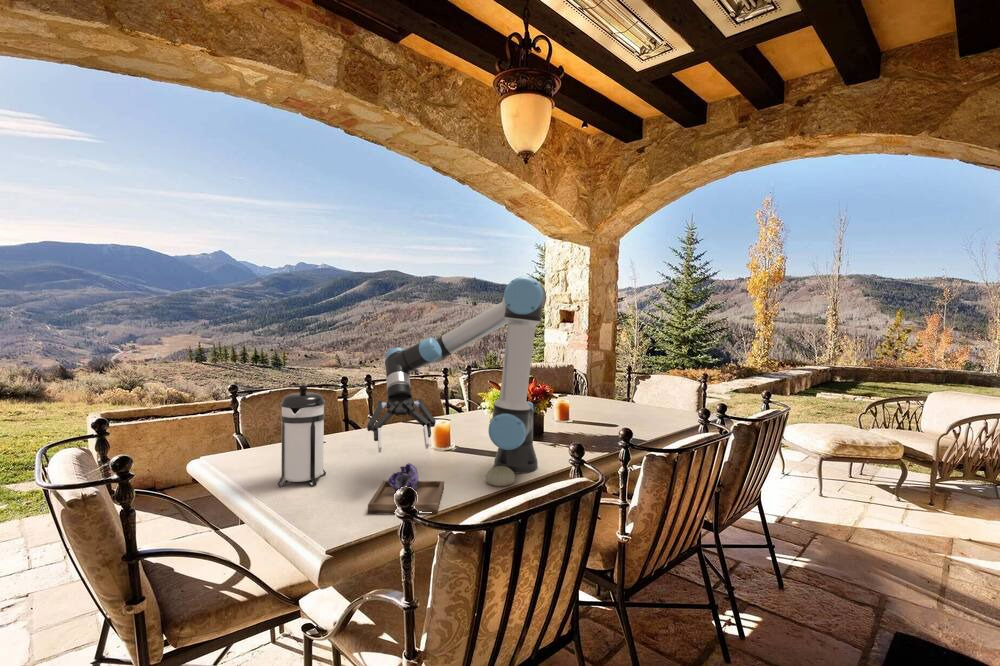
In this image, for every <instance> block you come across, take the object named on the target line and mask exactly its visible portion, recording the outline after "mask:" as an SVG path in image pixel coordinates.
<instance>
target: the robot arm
mask: <svg viewBox="0 0 1000 666" xmlns="http://www.w3.org/2000/svg"><path fill="white" fill-rule="evenodd" d="M503 294H504V295H503V299H502V301H501V302H499V303H497V304H496V305H494V306H492V307H491V308H489V309H487V310H486V311H484V312H482V313H480V314H478V315H476V316H473V318H471V319H469V320H468V321H466V322H463V323H462V324H460V325H459V326H457V327H455V328H454V329H451V330H449V331H448V332H446V333H445V334H442V335H441V336H439V337H437V338H434V337H428V338H426V339H423V340H421V341H420V342H418V343H415V344H414V345H411V346H410V347H408V348H407V349H405V348H402V347H399V346H398V347H397V346H396V347H392V348H389V349H388V350H387V351H386V353H385V359H384V366H385V376H386V377H385V380H386V393H387V401H386V402H385V401H384V402H382V400H381V399H380V400H378V401H377V406H376V409H375V410H374V412H373V413H372V415H371V418H370V419H369V421H368V423H367V424H366V425H367V426H366V429H367V431H368V432H373V440H374V442H377V447H378V448H377V450H378V453H382V431H381V428H382V427H383V426H384V425H385V424H386V423H387V422H388V420H390V418H392V417H393V416H394V415H395V416H396V417H397V416H407V415H408V416H409V417H410V418H411V417H412V418H413V419H414V420H415V421H416V422H417V423H419V424H420V425H421V426H422V427H423V437H424V446H425V447H424V448H425V450H427V449H429V446H430V440H429V438H431V437H432V429H431V428H433V427H435V426H436V423H437V421H436V419H435V418H434V416H433V415H432V414H431V412H430V411H429V410H428V408H427V407H426V406H425V404H424V401H423V398H419V399H418V400H413V397H412V388H411V379H410V373H411V372H414V371H415V370H417V369H419V368H423V367H424V366H426V365H429V364H435V363H440V362H443V361H445V360H446V359H447V358H448V357H450V356H451V355H453V354H455V353H456V352H459V351H461V350H462V349H464V348H465V347H468V346H470V345H471V344H473V343H475V342H477V341H479V340H481V339H483V338H484V337H485V336H487V335H490V334H491V333H494V332H495V331H497V330H499V329H500V328H502V327H504V326H506V325H507V333H506V339H505V340H506V342H505V350H504V357H503V367H502V376H501V384H500V393H499V397H498V399H497V400H496V401H494V404H493V412H492V419H491V421H490V422H489V424H488V436H489V439H490V441H491V442H492V444H494V445H495V446H496V447H498V449H497V450H496V454H495V457H494V465H493V467H496V466H505V467H508V468H510V469H511V470H512V471H513V472H514V474H526V473H531V472H534V471H536V470H537V469H538V461H539V460H538V458H537V454H536V451H535V448H534V412H535V410H534V403H533V402H531V401H527V400H528V399H527V398H528V392H529V391H528V390H529V381H530V376H531V375H530V374H531V367H532V366H531V365H532V358H533V357H532V356H533V347H534V340H535V330H536V327H537V326H538V325H539V324H541V322H542V315H543V314H542V313H543V308H544V306H545V305H546V302H547V292H546V290H545V288H544V286H543V285H542V284H541V283H539V281H538V280H536V279H535V278H533V277H530V276H520V277H519V276H518V277H515V278H513V279H512V280H511V281H510V282H509V283H508V284H507V286H506V287H505V288H504V292H503ZM414 406H415V407H416V409H418V411H419V412H420V413H419V412H418V411H417V410H416V409H415V408H414ZM385 408H387V411H386V412H385V413H384V415H382V416H381V417H380V414H381V412H382V411H383V410H384V409H385ZM379 417H380V419H378V418H379ZM377 420H378V421H377Z"/></svg>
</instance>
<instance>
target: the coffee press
mask: <svg viewBox="0 0 1000 666" xmlns="http://www.w3.org/2000/svg"><path fill="white" fill-rule="evenodd" d="M298 390H299V391H300V392H294V393H289V394H287V395H285V396H284V397H283V398H282V401H280V408H281V414H280V422H281V458H280V459H281V461H280V462H281V464H280V465H281V470H280V471H281V475H280V479H279V480H278V481H277V486H278V487H280V488H282V487H285V485H286V484H287V483H288V482H290V483H291V482H293V483H298V482H308V483H309V485H310V487H311V488H312V487H316V486H317V483H318V482H317V479H318V478H319V477H320V476H321V477H325V476H326V474H327V471H326V470H325V469H324V443H325V442H324V438H325V437H324V431H325V430H324V429H325V428H324V425H325V422H324V421H325V420H324V419H325V416H326V415H325V412H324V411H325V405H326V400H325V399H324V397H323V395H322V394H320V393H318V392H312V391H309V392H308V387H307V385H305V384H301V385H300V386H299V388H298ZM283 480H284V481H283ZM281 486H282V487H281Z"/></svg>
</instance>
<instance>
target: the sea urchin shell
mask: <svg viewBox="0 0 1000 666" xmlns="http://www.w3.org/2000/svg"><path fill="white" fill-rule="evenodd" d="M484 479H485V481H486V483H487V484H489V485H491V486H494V487H505V486H510V485H512V484H514V482H515V481H516V473H514V472H513V471H512V470H511V469H510V468H508V467H505V466H496V467H494V466H493V467H491V468H489V470H487V472H486V474H485V477H484Z"/></svg>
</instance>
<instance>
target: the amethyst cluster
mask: <svg viewBox="0 0 1000 666" xmlns="http://www.w3.org/2000/svg"><path fill="white" fill-rule="evenodd" d="M399 469H400V471H397V472H394V473H392V475H390V476H389V478H388V480H387V481H389V484H390V485H391V486H392V487H393V488H394V489H395V493H396V491H397V490H398V489H400V488H401V487H405V486H407V487H411V488H413V489H414V490H415V491H416V490H417V488H418V486H419V481H420V480H419V470H418V468H417V467H416V466H415V465H413V464H412V463H411V462H408V463H407V464H405V466H402V465H401V466H399Z"/></svg>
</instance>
